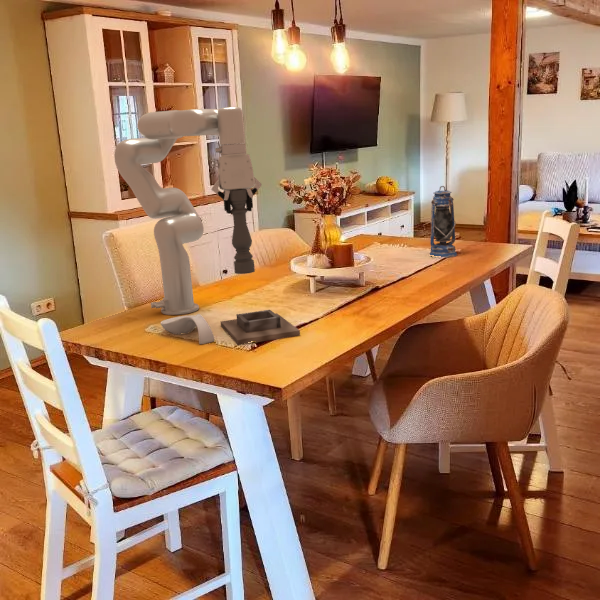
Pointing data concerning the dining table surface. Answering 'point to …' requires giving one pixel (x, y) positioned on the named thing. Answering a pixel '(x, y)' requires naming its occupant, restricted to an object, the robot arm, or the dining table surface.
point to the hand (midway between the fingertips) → (239, 211)
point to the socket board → (259, 327)
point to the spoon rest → (190, 327)
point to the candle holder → (241, 233)
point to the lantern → (442, 225)
